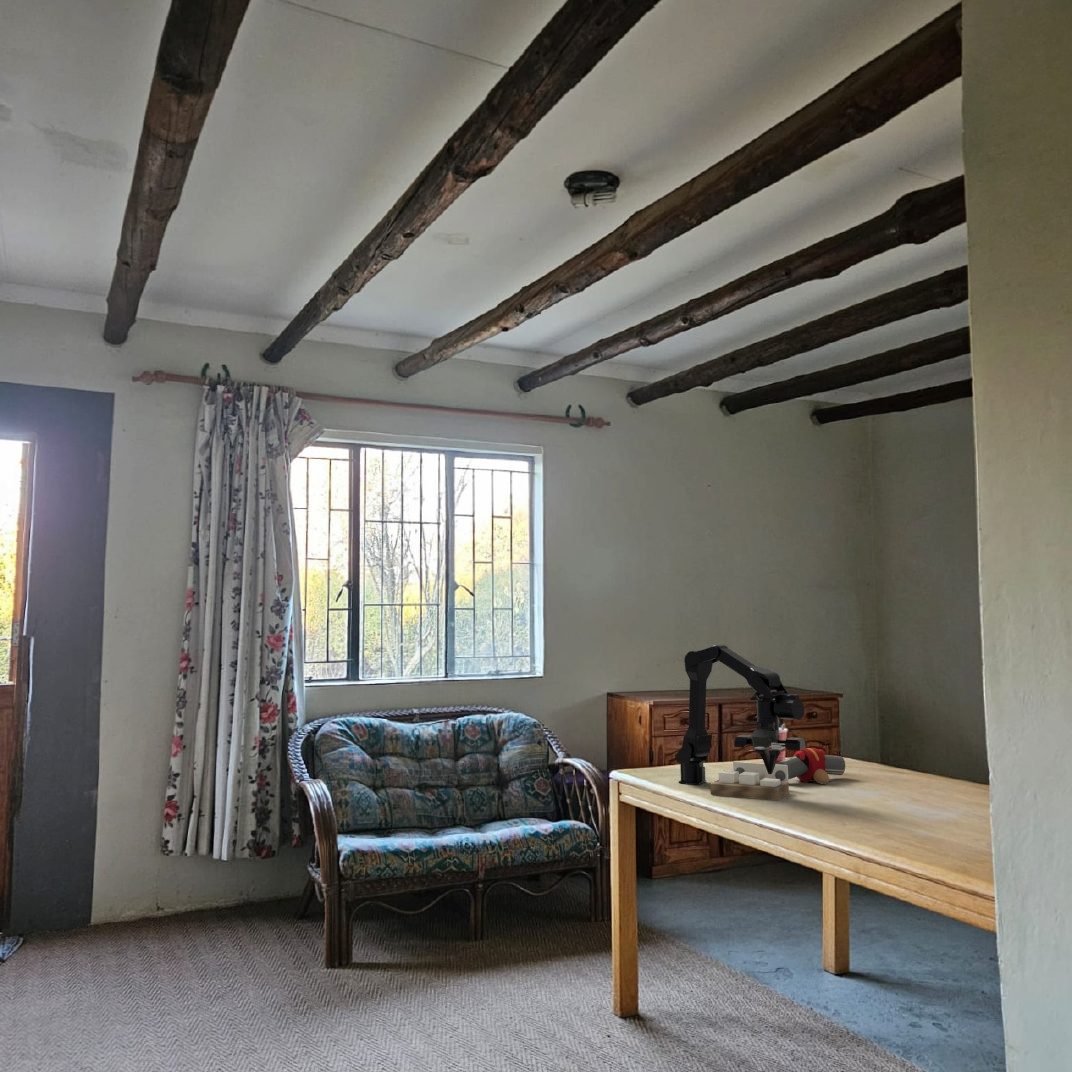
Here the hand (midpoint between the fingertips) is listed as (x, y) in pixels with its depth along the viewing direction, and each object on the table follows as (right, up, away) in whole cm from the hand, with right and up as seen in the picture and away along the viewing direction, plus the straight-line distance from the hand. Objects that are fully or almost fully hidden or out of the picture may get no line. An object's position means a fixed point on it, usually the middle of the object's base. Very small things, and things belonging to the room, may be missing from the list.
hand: (770, 774), depth 255 cm
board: (-5, -6, +3) cm, 8 cm away
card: (0, -7, +11) cm, 13 cm away
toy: (+17, -8, +21) cm, 28 cm away
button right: (0, -6, 0) cm, 6 cm away
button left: (-10, -5, +6) cm, 13 cm away
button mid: (-5, -5, +3) cm, 7 cm away
